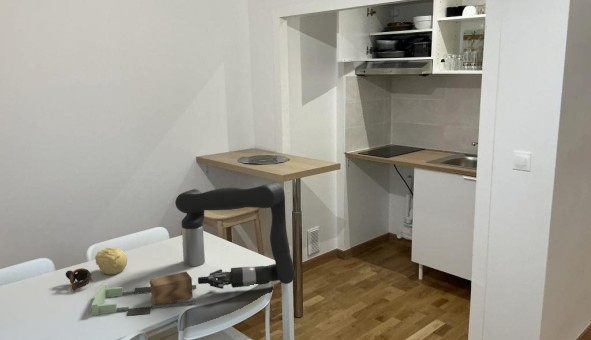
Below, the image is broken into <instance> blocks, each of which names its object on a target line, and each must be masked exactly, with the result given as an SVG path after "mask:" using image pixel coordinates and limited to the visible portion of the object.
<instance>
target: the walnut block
mask: <svg viewBox="0 0 591 340" xmlns="http://www.w3.org/2000/svg"><path fill="white" fill-rule="evenodd" d="M149 284H150V285H149V287H151V293H150V298H151V300H152V302H153V304H162V303H173V302H180V301H182V300H186V299H187V300H188V299H190V298H194V295H193V294H194V293H193V289H192V285H193V280H192V277H191V276H190V274H189V273H188V272H187V271H182V272H178V273H172V274H169V275H163V276H160V277H154V278H150V279H149Z"/></svg>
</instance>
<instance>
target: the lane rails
mask: <svg viewBox="0 0 591 340" xmlns="http://www.w3.org/2000/svg"><path fill="white" fill-rule="evenodd" d="M195 289H197V284H192V290H195ZM133 293H134V290H126V291H123V292H122V295H121V296H130V295H134V294H133ZM192 304H194V305H196V304H197V300H184V301H175V302H171V303H162V304H154V303H153V304H150V306H151V310H152V309H162V308H170V307H172V308H173V307H181V306H192ZM128 309H129V306H122V307H121V306H120V307H117V309H116V310H117V312H116V313H118V312H119V313H120V312H121V313H122V312H128Z"/></svg>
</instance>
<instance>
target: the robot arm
mask: <svg viewBox="0 0 591 340" xmlns="http://www.w3.org/2000/svg"><path fill="white" fill-rule="evenodd" d="M174 202H175V207H176V209H177V210H178V211H179V212H181V213H183V214H186V215H185V216H184V218H182V219H181V234H182V236H181V238H182V256H183V258H182V259H183V264H184V266H187V267H198V266H201V265H203V264H204V263H206V259H205V258H206V257H205V240H204V239H205V238H204V219H205V211H232V210H240V209H243V208H245V209H246V208H258V209H270V211H271V225H270V231H269V232H270V234H269V241H270V247H271V252H272V257H273V260H274V263H273V264H269V265H260V266H241V267H239V266H238V267H231V268H230V271H223V270H222V269H218V270H215V271H212V272H210V273H209V275H207V276H200V277H197V284H198V285H204V284H205V285H206V284H207V285H209V287H213V288H216V289H224V286H229V285H231V288H245V287H251V286H250V285H253V286H255V285H254V284H258V285H257V286H259V285H266V284H267V285H268V284H269V283H270V282H277V281H279V282H280V283H282V284H284V285H287V284H290V283H292V282H293V281H294V280H295V277H296V270H295V267H294V263H293V259H292V256H291V249H290V243H289V238H288V232H287V231H288V230H287V220H286V195H285V190H284V187H283V185H282V184H280V183H278V182H269V183H265V184H262V185H259V186H256V187H251V188H241V187H240V188H239V187H234V186H233V187H231V186H229V187H221V188H216V189H212V190H208V191H205V192H201V191H200V190H199V189H197V188H193V189H190V190H187V191H183V192H181V193H180V194H178V196H176V198H175V201H174Z"/></svg>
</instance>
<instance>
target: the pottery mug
mask: <svg viewBox="0 0 591 340" xmlns="http://www.w3.org/2000/svg"><path fill="white" fill-rule="evenodd" d="M92 276H93V273H92V272H90V270H88V269H86V268H76V269H74V270H66V272H65V277H66V278H67V279H68V280H69V282H70V285H71V290H72V291H76V290H78V289H81V288H85V287H87V285H89V283H91V282H93V278H92Z"/></svg>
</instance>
